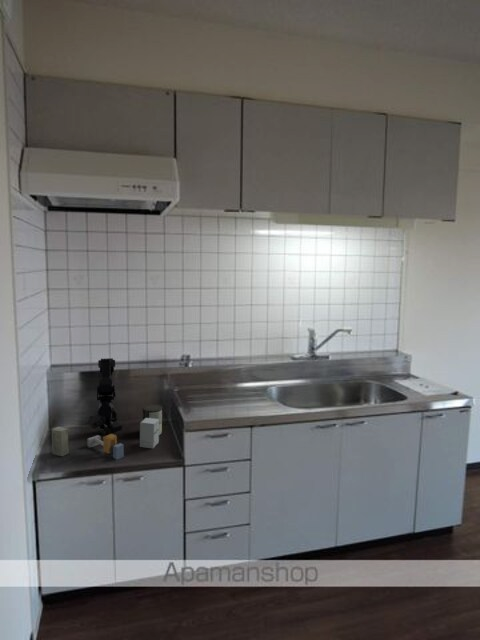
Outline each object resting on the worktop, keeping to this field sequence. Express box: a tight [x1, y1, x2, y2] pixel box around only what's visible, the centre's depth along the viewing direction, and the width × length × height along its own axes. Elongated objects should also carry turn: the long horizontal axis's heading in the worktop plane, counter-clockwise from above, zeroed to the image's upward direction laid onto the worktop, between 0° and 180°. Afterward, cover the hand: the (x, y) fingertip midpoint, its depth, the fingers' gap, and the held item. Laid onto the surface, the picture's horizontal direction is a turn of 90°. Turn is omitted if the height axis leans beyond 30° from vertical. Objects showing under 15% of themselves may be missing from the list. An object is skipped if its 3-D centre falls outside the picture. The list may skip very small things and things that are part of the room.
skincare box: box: [51, 426, 70, 457], centre depth 217 cm, size 6×4×12 cm
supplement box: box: [139, 418, 160, 449], centre depth 230 cm, size 7×7×13 cm
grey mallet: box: [86, 435, 125, 460], centre depth 222 cm, size 22×6×6 cm, turn 51°
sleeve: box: [102, 433, 118, 454], centre depth 219 cm, size 4×5×7 cm
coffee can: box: [142, 403, 163, 436], centre depth 245 cm, size 10×10×14 cm
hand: (105, 439), depth 221 cm, fingers closed
